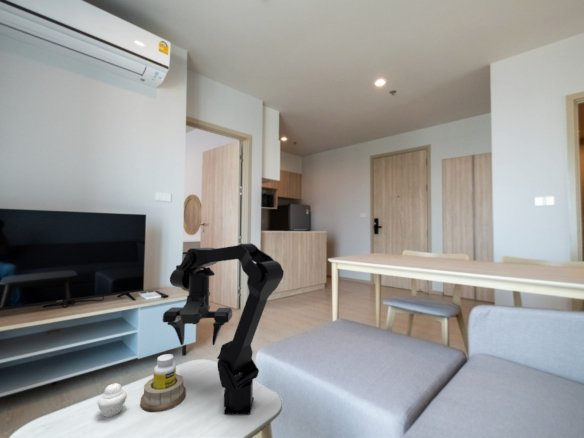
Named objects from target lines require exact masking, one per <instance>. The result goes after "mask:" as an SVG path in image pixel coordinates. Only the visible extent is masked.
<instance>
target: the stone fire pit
mask: <svg viewBox="0 0 584 438" xmlns="http://www.w3.org/2000/svg"><path fill="white" fill-rule="evenodd" d="M153 381H154V377H153V378H151V379H149V380H147V382H145V383H144V385H143V394H142V395H141V397H140V408H141V409H142V410H144V411H145V412H148V413H160V412H164V411H167V410H171V409H173V408H175V407H177V406H179V405H180V404H181V403H182V402H184V401H185V398H186V395H187V394H186V393H187V392H186V391H187V389H186V387H185V386H184V384H185V383H184V381H185V380H184V377H183V375H180V374H179V373H176V377H175V385H173V386H171V387H170V388H166V389H162V390H155V389H153Z"/></svg>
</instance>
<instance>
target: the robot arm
mask: <svg viewBox="0 0 584 438" xmlns="http://www.w3.org/2000/svg"><path fill="white" fill-rule="evenodd" d="M186 252H187V253H186V254H185V256H184V257H183V259H182V261H181V263H180V264H177V265H176V266H175V269H174V270H173V271H172V272H171V274H170V276H169V282H170V284H171V286H173V287H175V288H182V289H188V295H187V296H186V302H185V304H184V305H183V306H182V307H178V306H177V307H175V306H174V307H170V308H169V309H167V310H165V311H164V313H162V322H163V323H166V324H167V325H168V326H171V327H172V328H173V329H174V330H175V333H176V336H177V338H178V341H179V344H180V345H181V346H183V345H184V342H185V329H186V328H185V327H186V326H185V325H187V324H188V325H189V324H192V325H197V324H199V323H200V322H201V320H202V319H214V320H213V321H214V322H213V323H212V325H213V332H212V346H215V344H216V342H217V339H218V336H219V333H220V330H221V328H222V326H224V325H225V324H226V323H229V321H230V320H231V319H232V318H233V309H232V308H231V307H218V308H217V310H210V307H211V306H210V296H211V291H210V277H213V276H215V272H214V271H213V270H212V269H211V268H210V266H213V265H215V264H217V263H219V262H224V261H225V262H226V261H233V260H239V262H240V264H241V269H242V271H243V272H244V274H245V275H246V276H247V282H246V283H247V284H246V285H247V288H248V295H247V299H246V301H245V304H244V307H243V308H242V309H243V310H242V312H241V315H240V319H239V321H238V324H237V326H236V330H235V332H234V335H233V338H232V340H230V341H228V342H225V343H223V344H222V345H221V347H220V352H219V354H218V356H217V358H216V360H218V361H217V371H218V376H219V382H220V385H221V386H220V387H221V388H223V389H224V391H223V393H224V394H223V408H224V412H223V414H224V415H248V416H249V415H251V413H252V409H253V403H254V400H255V399H254V398H255V397H253V391H254V389H253V387H254V386H253V385H254V384H253V383H254V380H255V379H257V378H258V376H259V372H260V370H259V368H258V366H257V364H256V363H255V362H254V359H252V358H253V354H254V353H253V349H252V343H253V339H254V337H255V335H256V334H255V333H256V331H257V329H258V326H259V324H260V321H261V317H262V315H263V312H264V309H265V307H266V304H267V302H268V299H269V297H270V296H271V295H272V294H273V292H275V290H276V289H277V288H278V286H279V285H280V284H281V281H282V279H283V278H284V272H285V271H284V270H283V266H282V265H281V264H280V262H279V261H276V260H275V259H273V258H272V256H270V255H269V254H267V253H265V252H264V251H262V250H261V249H260V248H259V247H257V246H256V244H253V243H239V244H238V245H231V246H224V247H219V248H215V247H195V248H191V247H190V248H188V249H187V251H186Z"/></svg>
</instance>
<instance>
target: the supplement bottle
mask: <svg viewBox="0 0 584 438" xmlns="http://www.w3.org/2000/svg"><path fill="white" fill-rule="evenodd" d="M156 360H157V361H156V364H157V365H156V366H155V367H154V369H153V378H154V381H153V389H155V390H162V389H166V388H170V387H171V386H173V385H175V377H176V374H177V372H176V369H177V367H176V364H175V363H174V355H173V354H171V353H167V354H166V353H164V354H162V355H160V356H158V357H157V359H156Z"/></svg>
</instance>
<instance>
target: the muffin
mask: <svg viewBox="0 0 584 438" xmlns="http://www.w3.org/2000/svg"><path fill="white" fill-rule="evenodd" d="M127 396H128V394H127V391H126V390H125V389H123V388H122V385H121V384H120V383H117V382H115V383H112V384H109V385H107V386H106V387H105V388H104V391H103V393H102V394H101V396H99V398H98V400H97V403H96V404H97V407H98V410H100V412H101V414H102V415H103V416H104V418H105V417H106V418H111V417H115V416H117V415H118V414H119V413H120V412H121V410H122V408H123V405H124V404H125V402H126V399H127V398H128V397H127Z"/></svg>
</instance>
